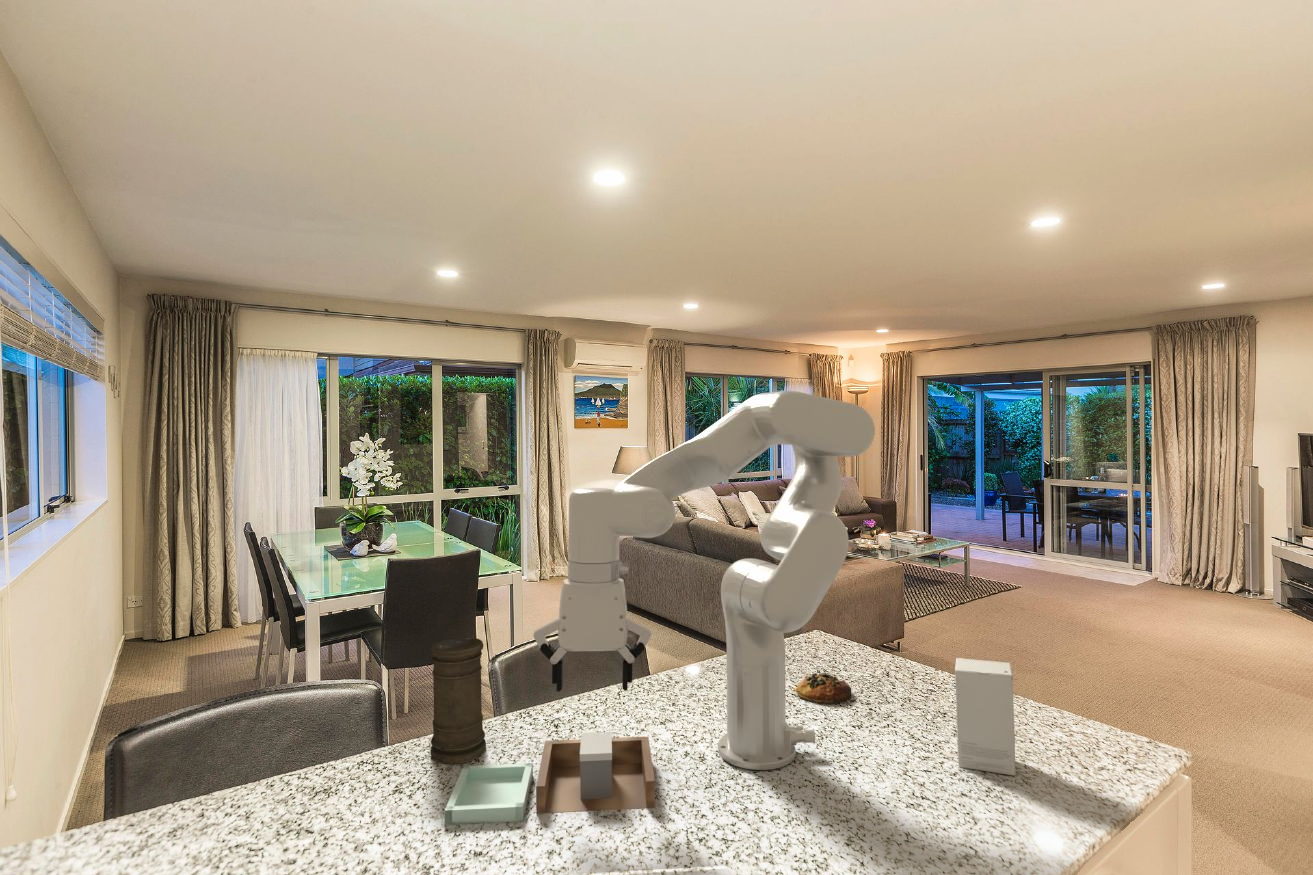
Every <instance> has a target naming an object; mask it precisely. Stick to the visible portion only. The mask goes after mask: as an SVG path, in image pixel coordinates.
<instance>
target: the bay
mask: <svg viewBox="0 0 1313 875" xmlns="http://www.w3.org/2000/svg"><path fill="white" fill-rule="evenodd" d="M649 738H650V737H649V736H632V737H631V736H629V737H626V736H625V737H612V798H604V799H584V800H581V798H580V745H581V738H580V739H579V738H577V739H558V740H556V739H555V740H545V741H544V743H543V748H542V749H543V750H542V754H541V759H540V764H539V770H538V775H537V780H536V784H535V803H536V804H535V808H536V809H535V810H536V811H535V813H536V814H539V815H540V814H552V813H553V814H557V813H574V812H596V811H615V810H637V809H638V810H639V809H640V810H641V809H655V808H656V798H655V797H656V791H655V790H656V789H655V788H656V780H655V773H654V768H653V761H652V760H653V759H652V753H651V745H650V739H649Z"/></svg>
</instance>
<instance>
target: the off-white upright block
mask: <svg viewBox="0 0 1313 875" xmlns="http://www.w3.org/2000/svg"><path fill="white" fill-rule="evenodd" d="M612 736H613V734H612V731H599V732H598V731H597V732H596V731H595V732H593V731H592V732H581V734H580V739H581V745H580V798H581V800H584V799H604V798H612V738H613V737H612Z"/></svg>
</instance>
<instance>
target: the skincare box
mask: <svg viewBox="0 0 1313 875" xmlns="http://www.w3.org/2000/svg"><path fill="white" fill-rule="evenodd" d="M954 666H955V667H954V678H955V703H956V704H955V706H956V707H955V708H956V710H955V711H956V733H957V734H956V737H957V739H956V740H957V760H958V762H957V763H958V768H963V769H969V770H975V771H981V772H989V773H995V774H1003V775H1007V776H1016V774H1017V773H1016V742H1015V741H1016V737H1015V736H1016V734H1015V715H1014V714H1015V712H1014V711H1015V710H1014V709H1015V708H1014V706H1015V705H1014V682H1013V679H1014V675H1013V670H1012V666H1011V663H1010V662H1002V661H995V660H994V661H992V660H984V659H983V660H981V659H973V658H972V659H970V658H961V657H956V658H955V665H954Z"/></svg>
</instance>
